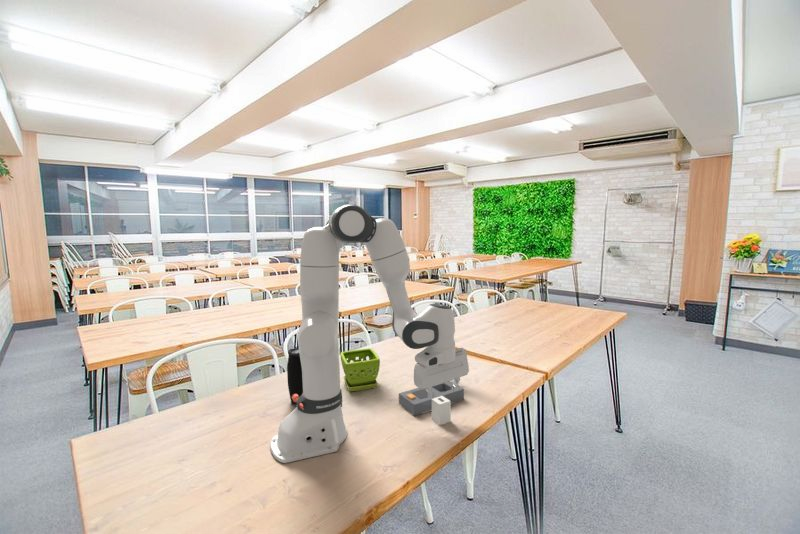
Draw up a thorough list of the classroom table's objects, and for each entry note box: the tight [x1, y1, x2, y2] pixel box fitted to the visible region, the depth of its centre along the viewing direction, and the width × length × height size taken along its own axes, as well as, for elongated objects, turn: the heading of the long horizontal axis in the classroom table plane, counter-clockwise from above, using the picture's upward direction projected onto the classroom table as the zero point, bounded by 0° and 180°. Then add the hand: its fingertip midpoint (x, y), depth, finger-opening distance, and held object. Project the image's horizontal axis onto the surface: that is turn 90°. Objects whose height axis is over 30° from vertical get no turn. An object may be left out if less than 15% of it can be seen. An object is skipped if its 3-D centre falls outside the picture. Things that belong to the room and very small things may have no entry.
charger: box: [431, 396, 452, 426], centre depth 119 cm, size 4×4×7 cm
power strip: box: [398, 380, 465, 417], centre depth 132 cm, size 22×10×5 cm, turn 121°
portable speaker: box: [286, 347, 303, 406], centre depth 133 cm, size 9×9×20 cm
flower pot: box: [339, 347, 381, 392], centre depth 146 cm, size 14×14×13 cm
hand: (442, 394), depth 118 cm, fingers open, 8 cm apart
